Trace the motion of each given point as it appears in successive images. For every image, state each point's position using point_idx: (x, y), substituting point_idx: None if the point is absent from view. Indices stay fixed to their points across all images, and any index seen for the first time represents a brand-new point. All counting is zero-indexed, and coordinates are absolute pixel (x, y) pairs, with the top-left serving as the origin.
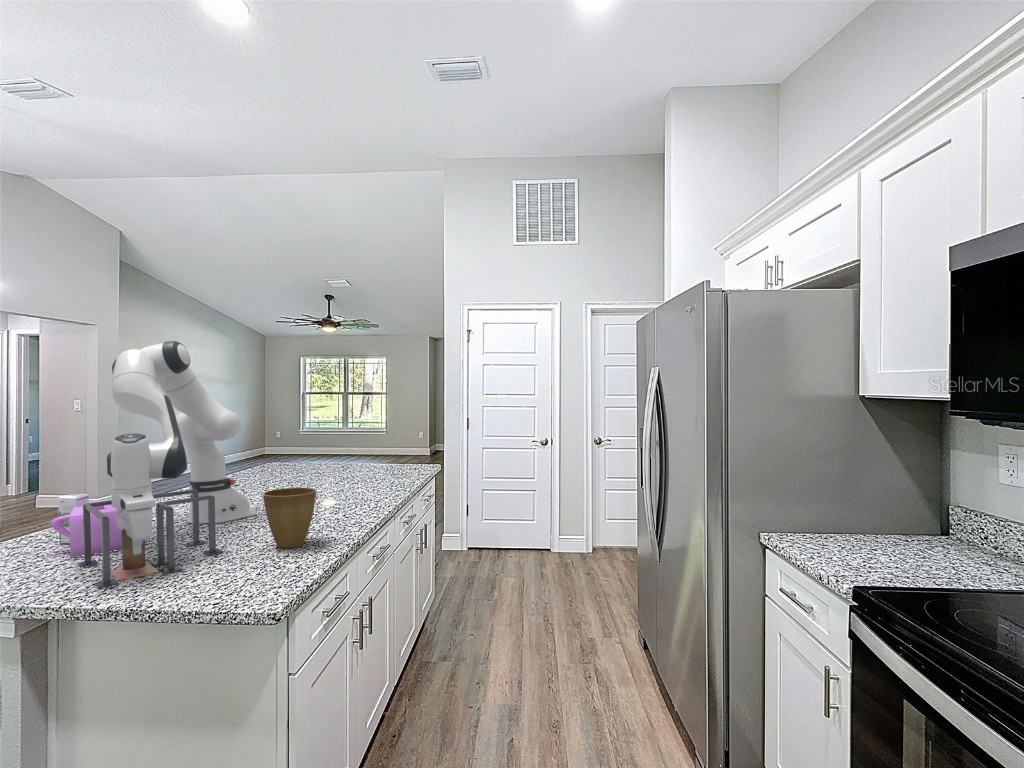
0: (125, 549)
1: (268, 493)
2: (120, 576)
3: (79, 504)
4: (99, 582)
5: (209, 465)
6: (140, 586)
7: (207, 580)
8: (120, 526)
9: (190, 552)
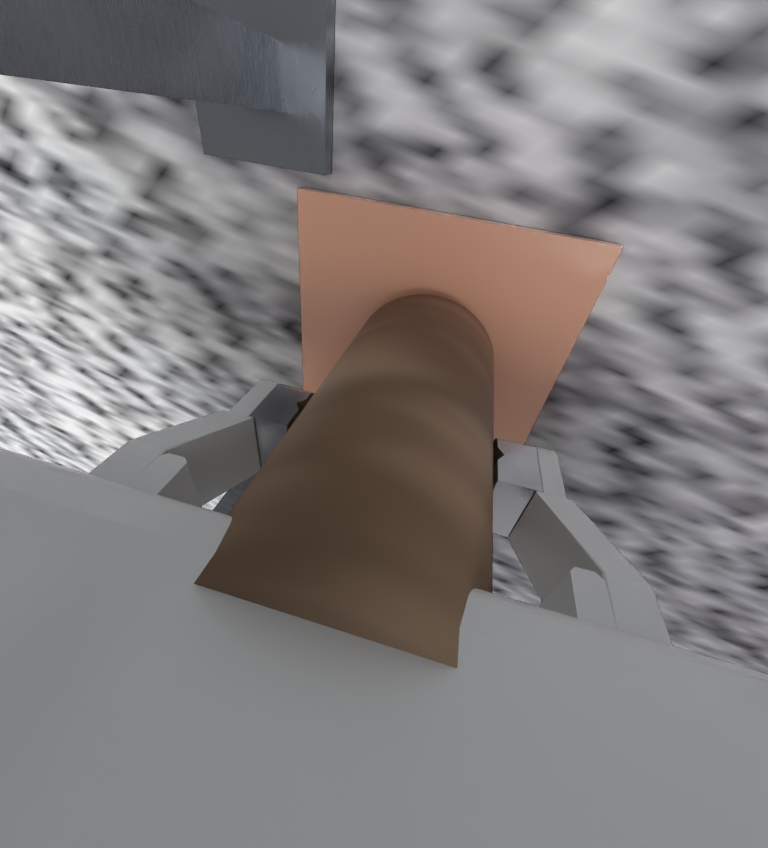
0: (340, 380)
1: None
2: (370, 238)
3: None
4: (301, 13)
5: None
6: (111, 237)
7: (80, 427)
8: (722, 769)
9: (511, 595)
